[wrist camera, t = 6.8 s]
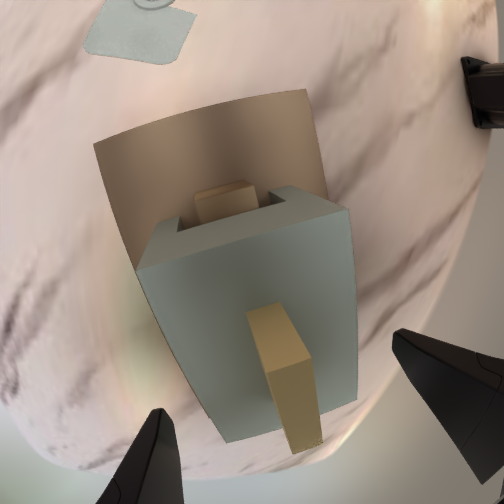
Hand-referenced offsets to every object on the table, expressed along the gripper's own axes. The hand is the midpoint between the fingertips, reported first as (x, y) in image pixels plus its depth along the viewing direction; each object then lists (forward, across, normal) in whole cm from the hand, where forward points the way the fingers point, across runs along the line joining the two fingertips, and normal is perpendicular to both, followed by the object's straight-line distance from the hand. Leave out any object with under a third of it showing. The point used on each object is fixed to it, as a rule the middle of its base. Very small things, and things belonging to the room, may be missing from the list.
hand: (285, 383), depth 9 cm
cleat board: (+9, 0, 0) cm, 9 cm away
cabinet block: (+7, 0, 0) cm, 7 cm away
